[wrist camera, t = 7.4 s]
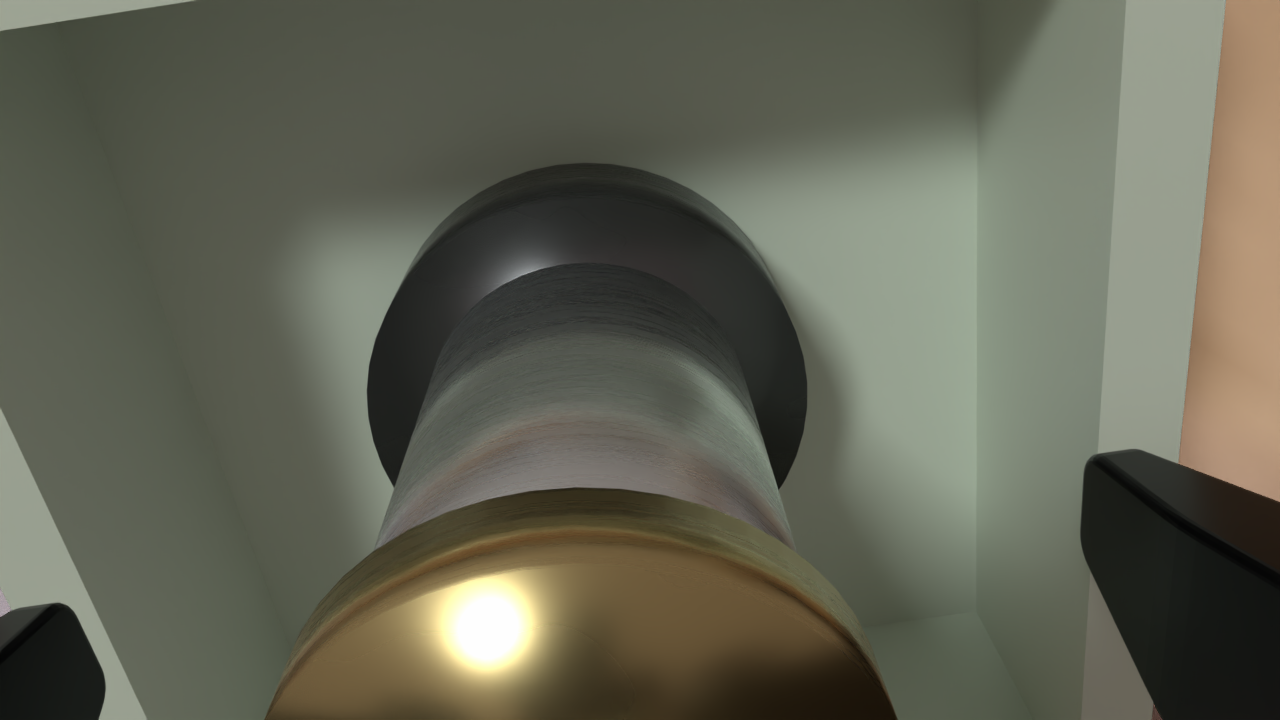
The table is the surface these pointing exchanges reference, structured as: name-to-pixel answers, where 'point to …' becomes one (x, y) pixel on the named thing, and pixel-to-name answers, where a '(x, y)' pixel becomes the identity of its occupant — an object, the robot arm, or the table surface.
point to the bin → (608, 134)
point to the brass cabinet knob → (585, 479)
